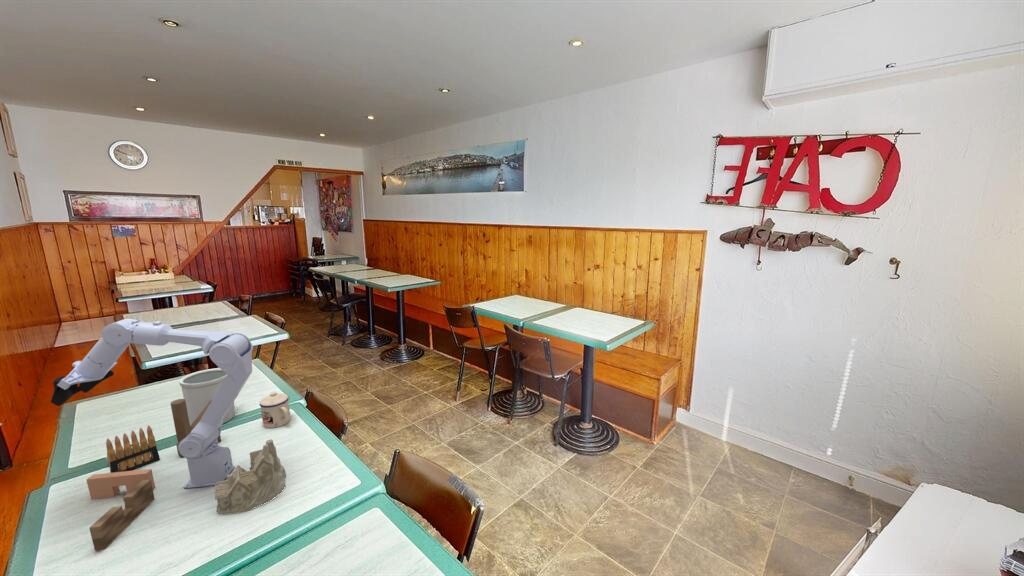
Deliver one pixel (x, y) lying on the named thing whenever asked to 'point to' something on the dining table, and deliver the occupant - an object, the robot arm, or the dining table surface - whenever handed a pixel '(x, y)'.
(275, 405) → the teacup with lid
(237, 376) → the robot arm
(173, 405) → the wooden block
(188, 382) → the utensil holder
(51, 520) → the dining table surface
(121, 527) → the slotted base plate
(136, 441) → the ammunition clip
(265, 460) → the ceramic cottage
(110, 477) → the cross plate
